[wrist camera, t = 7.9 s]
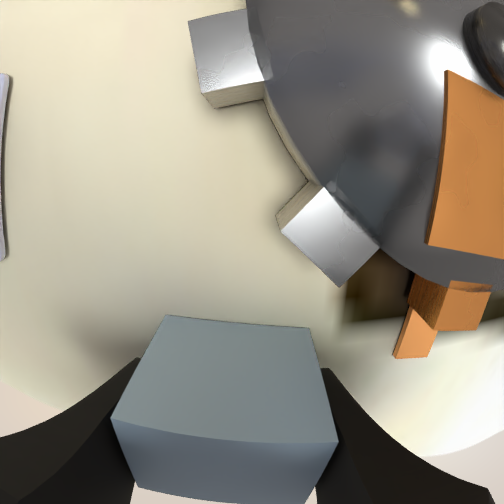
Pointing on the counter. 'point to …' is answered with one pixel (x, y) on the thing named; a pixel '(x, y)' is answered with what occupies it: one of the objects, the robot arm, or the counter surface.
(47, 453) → the robot arm
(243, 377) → the link block
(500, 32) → the sprocket
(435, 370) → the counter surface
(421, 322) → the timing pointer
